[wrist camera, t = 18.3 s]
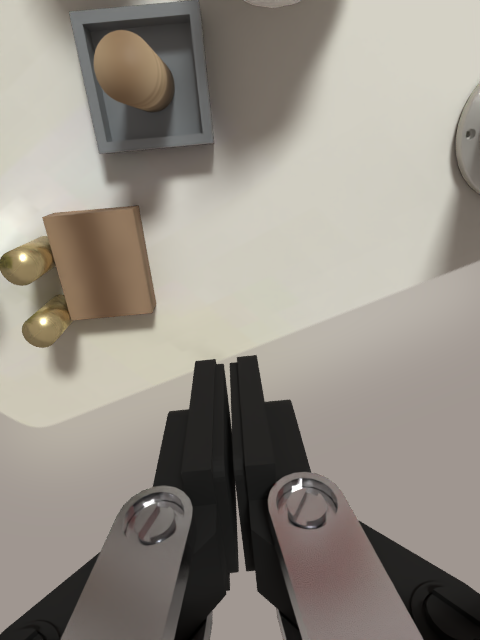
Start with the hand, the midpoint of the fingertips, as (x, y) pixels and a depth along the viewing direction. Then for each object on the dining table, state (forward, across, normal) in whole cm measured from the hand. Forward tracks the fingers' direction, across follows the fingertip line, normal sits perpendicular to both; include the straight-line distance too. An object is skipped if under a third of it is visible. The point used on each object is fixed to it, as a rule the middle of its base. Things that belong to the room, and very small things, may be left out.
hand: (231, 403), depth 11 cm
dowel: (+28, +5, -12) cm, 31 cm away
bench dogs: (+29, +18, +4) cm, 34 cm away
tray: (+29, +5, -12) cm, 32 cm away
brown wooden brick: (+30, +12, +2) cm, 32 cm away
